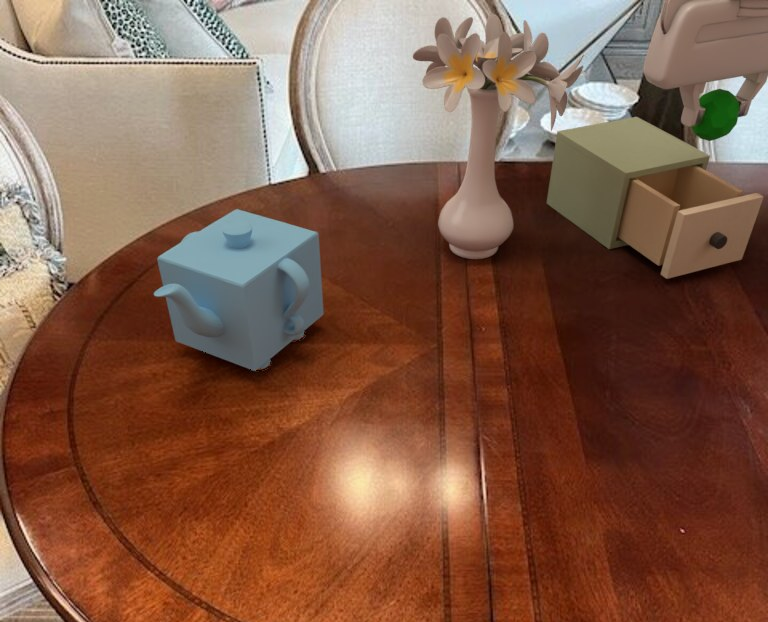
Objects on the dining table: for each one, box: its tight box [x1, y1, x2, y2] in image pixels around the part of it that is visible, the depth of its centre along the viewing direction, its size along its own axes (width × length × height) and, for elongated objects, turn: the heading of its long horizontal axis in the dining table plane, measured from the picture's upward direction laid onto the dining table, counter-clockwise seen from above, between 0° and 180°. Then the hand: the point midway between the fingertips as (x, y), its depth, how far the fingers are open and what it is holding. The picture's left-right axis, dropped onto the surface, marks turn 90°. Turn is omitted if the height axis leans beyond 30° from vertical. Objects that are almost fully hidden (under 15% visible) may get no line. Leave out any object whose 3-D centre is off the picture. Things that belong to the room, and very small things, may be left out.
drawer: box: [617, 165, 764, 280], centre depth 95 cm, size 15×11×8 cm
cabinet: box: [546, 116, 711, 250], centre depth 102 cm, size 15×13×10 cm
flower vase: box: [412, 13, 585, 260], centre depth 90 cm, size 13×18×25 cm
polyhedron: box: [690, 88, 739, 142], centre depth 85 cm, size 5×5×5 cm
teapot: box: [153, 208, 325, 372], centre depth 78 cm, size 18×16×13 cm
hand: (713, 119), depth 86 cm, fingers closed on polyhedron, 5 cm apart
